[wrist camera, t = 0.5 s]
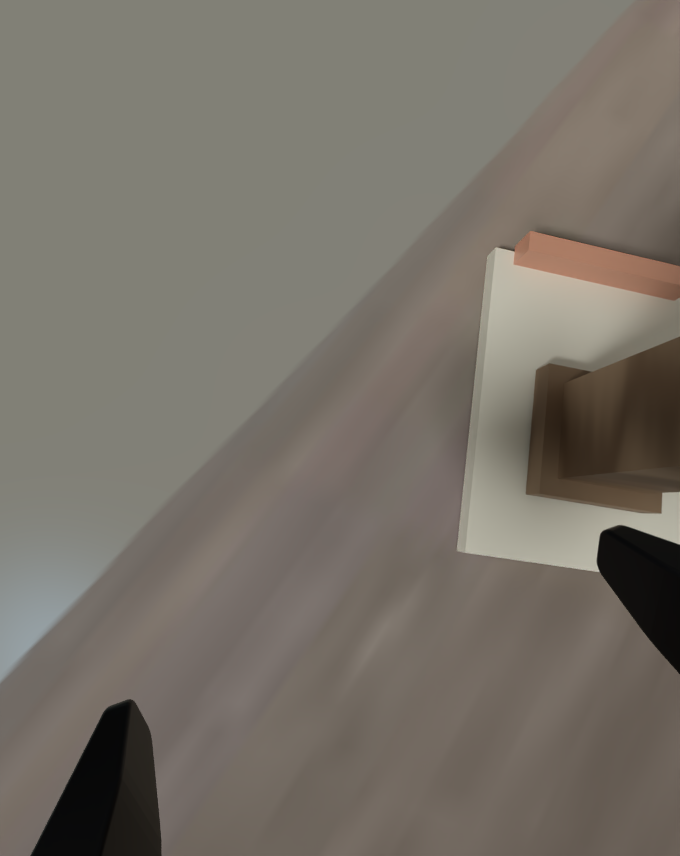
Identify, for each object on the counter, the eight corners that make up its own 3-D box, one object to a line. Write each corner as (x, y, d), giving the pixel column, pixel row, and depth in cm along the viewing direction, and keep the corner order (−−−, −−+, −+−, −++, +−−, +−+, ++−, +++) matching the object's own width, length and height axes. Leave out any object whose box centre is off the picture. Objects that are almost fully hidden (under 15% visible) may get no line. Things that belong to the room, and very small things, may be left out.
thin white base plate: (666, 581, 26) (708, 588, 24) (456, 551, 25) (479, 555, 22) (676, 294, 29) (715, 274, 27) (487, 251, 28) (510, 226, 25)
